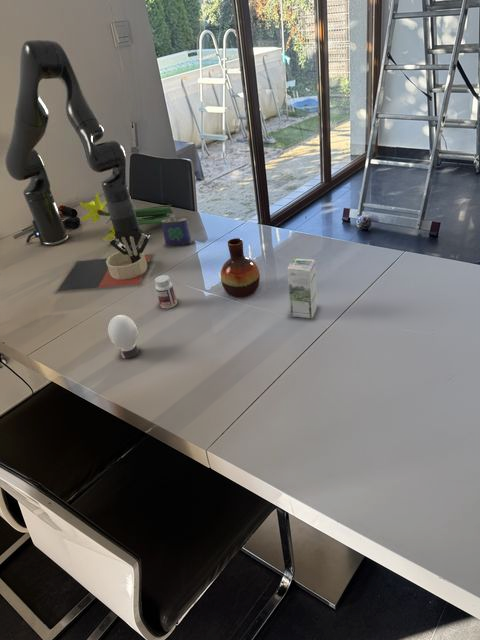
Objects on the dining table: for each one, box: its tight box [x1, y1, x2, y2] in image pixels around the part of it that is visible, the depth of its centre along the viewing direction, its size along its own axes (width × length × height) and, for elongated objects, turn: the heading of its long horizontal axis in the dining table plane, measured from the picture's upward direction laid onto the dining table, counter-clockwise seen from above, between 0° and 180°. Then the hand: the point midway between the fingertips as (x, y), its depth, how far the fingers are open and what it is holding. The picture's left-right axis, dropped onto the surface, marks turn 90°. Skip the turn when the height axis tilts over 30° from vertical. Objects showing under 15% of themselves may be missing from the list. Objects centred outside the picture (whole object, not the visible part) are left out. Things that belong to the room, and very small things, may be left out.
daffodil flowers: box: [78, 191, 173, 242], centre depth 174 cm, size 17×15×35 cm
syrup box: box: [286, 258, 318, 320], centre depth 120 cm, size 6×6×14 cm
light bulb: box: [107, 314, 139, 359], centre depth 115 cm, size 7×7×11 cm
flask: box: [160, 214, 193, 248], centre depth 164 cm, size 9×3×11 cm, turn 88°
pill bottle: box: [154, 274, 178, 309], centre depth 133 cm, size 5×5×8 cm
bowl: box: [106, 251, 148, 280], centre depth 153 cm, size 12×12×4 cm
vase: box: [219, 237, 261, 299], centre depth 132 cm, size 11×11×15 cm
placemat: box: [57, 254, 152, 292], centre depth 155 cm, size 26×20×1 cm
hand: (137, 265), depth 153 cm, fingers closed
